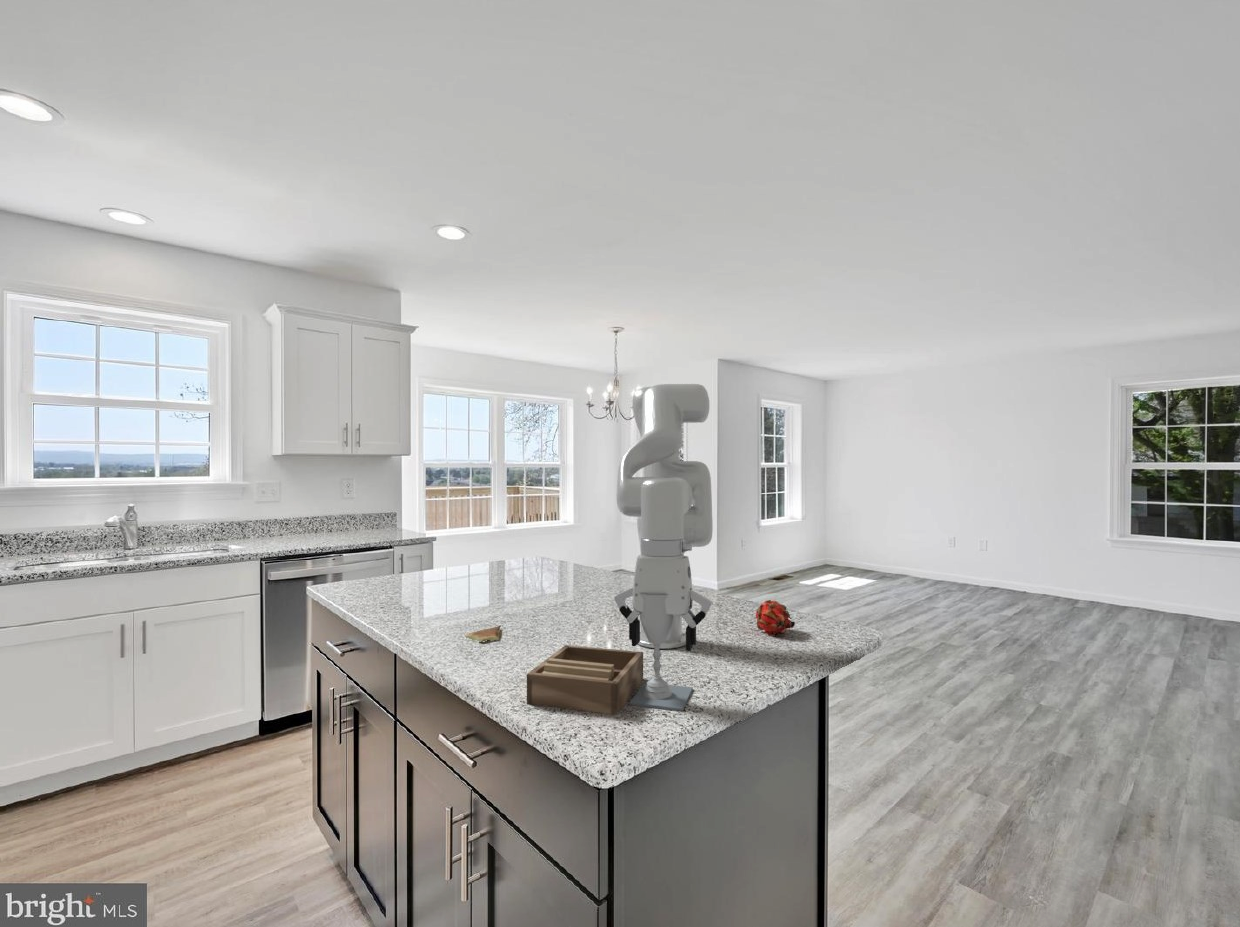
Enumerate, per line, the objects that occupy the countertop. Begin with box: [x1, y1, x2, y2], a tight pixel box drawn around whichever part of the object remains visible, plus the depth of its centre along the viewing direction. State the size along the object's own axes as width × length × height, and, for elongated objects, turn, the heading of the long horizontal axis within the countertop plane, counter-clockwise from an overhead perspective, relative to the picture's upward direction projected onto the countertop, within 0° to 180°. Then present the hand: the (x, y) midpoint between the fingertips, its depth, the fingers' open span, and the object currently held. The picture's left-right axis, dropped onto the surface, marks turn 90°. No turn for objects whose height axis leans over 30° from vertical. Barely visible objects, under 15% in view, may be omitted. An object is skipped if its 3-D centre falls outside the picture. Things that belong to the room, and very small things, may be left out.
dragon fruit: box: [755, 599, 796, 637], centre depth 143 cm, size 8×8×12 cm
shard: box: [464, 625, 502, 643], centre depth 140 cm, size 11×8×2 cm
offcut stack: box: [542, 657, 614, 681], centre depth 100 cm, size 4×12×6 cm, turn 73°
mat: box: [629, 681, 694, 712], centre depth 102 cm, size 10×9×1 cm
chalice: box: [639, 593, 673, 699], centre depth 102 cm, size 7×7×18 cm
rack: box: [526, 644, 644, 716], centre depth 105 cm, size 18×16×5 cm
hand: (662, 646), depth 102 cm, fingers open, 9 cm apart
